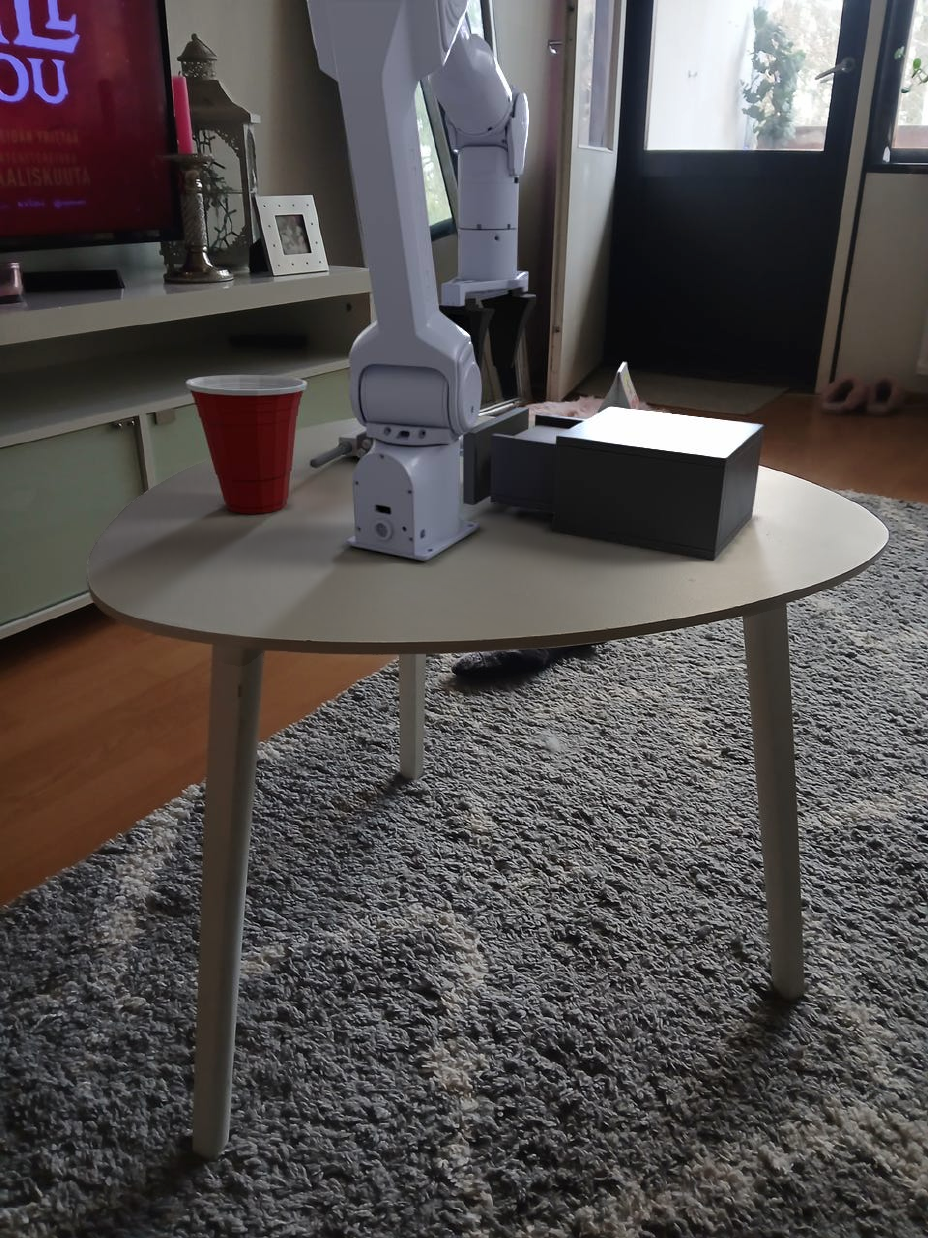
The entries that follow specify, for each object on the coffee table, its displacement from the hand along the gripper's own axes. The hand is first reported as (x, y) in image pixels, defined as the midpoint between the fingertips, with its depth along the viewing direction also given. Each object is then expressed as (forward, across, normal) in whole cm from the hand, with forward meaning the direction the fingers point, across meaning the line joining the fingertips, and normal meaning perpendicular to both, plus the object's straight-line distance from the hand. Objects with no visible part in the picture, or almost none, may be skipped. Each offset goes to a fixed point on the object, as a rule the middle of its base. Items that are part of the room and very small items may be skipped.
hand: (486, 372), depth 98 cm
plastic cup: (+11, -20, +14) cm, 27 cm away
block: (+8, -7, -10) cm, 15 cm away
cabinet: (+10, -7, -21) cm, 24 cm away
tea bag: (+11, +12, -10) cm, 19 cm away
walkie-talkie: (+11, 0, +13) cm, 17 cm away
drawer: (+9, -7, -9) cm, 15 cm away
